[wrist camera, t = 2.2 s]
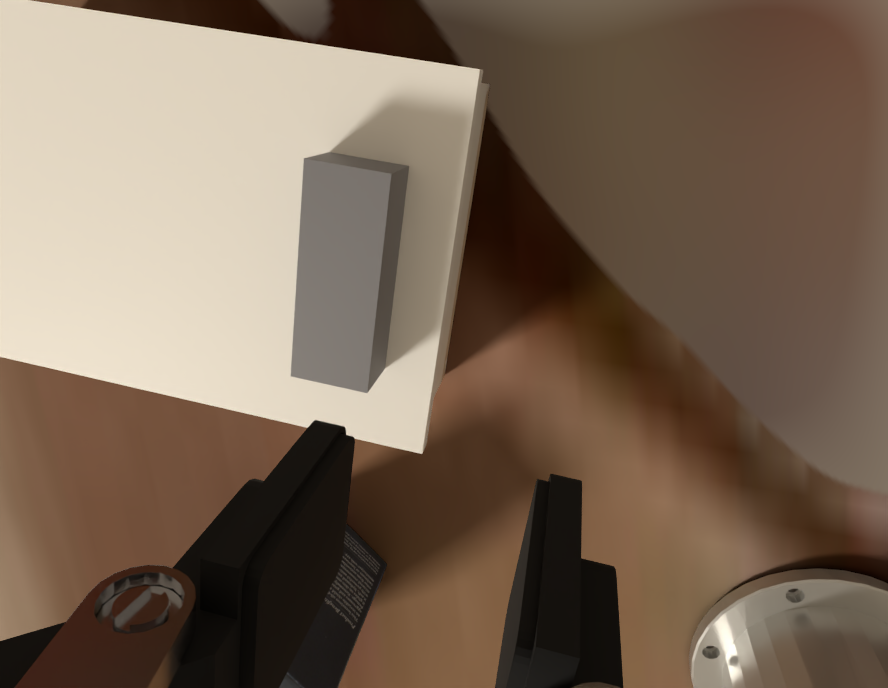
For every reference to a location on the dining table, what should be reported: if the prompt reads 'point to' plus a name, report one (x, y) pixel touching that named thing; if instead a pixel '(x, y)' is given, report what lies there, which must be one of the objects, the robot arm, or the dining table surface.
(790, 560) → the dining table surface
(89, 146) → the lid
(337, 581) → the small box
